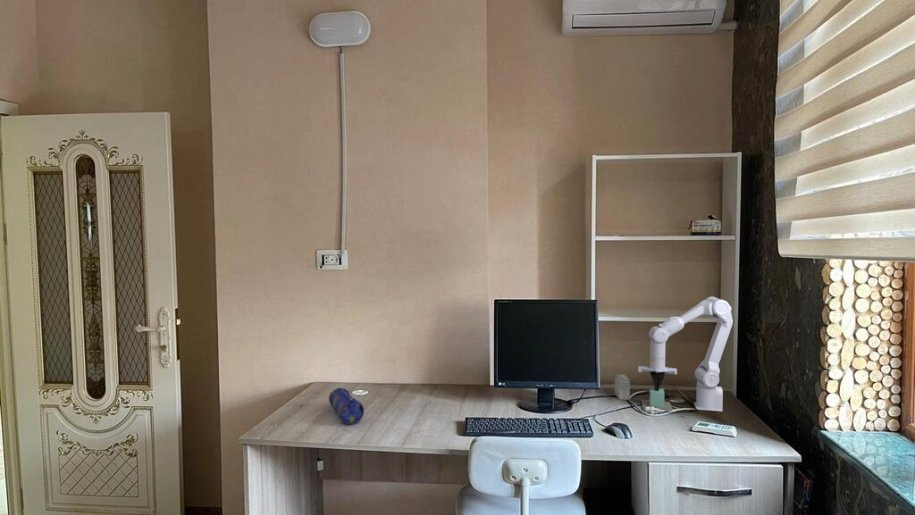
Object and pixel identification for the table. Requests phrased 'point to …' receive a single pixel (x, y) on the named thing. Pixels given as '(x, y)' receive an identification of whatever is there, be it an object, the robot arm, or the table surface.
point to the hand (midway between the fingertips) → (656, 390)
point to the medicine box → (622, 387)
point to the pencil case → (346, 406)
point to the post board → (666, 407)
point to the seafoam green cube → (656, 398)
